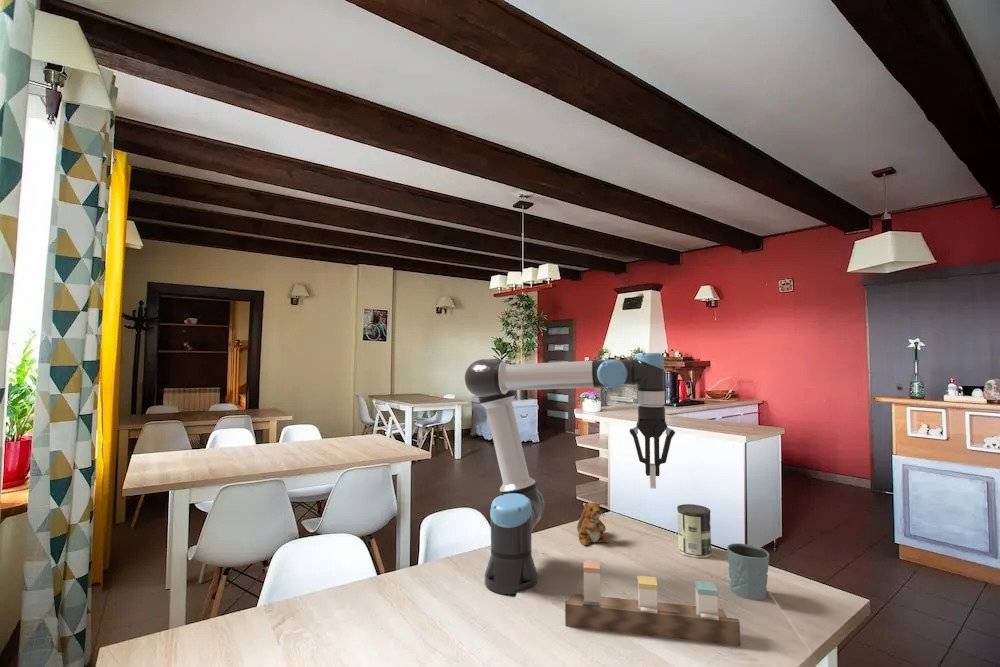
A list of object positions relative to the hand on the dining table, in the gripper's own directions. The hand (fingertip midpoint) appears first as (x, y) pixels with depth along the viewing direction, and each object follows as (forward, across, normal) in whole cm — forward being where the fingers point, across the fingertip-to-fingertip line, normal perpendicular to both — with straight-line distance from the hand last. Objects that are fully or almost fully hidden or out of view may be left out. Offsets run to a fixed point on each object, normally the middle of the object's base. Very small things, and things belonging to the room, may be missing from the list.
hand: (652, 487), depth 140 cm
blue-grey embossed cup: (+27, -24, +4) cm, 36 cm away
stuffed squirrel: (+27, +19, -29) cm, 44 cm away
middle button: (+25, +4, +27) cm, 37 cm away
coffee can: (+27, -15, -24) cm, 39 cm away
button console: (+26, +4, +23) cm, 35 cm away
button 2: (+25, -9, +27) cm, 38 cm away
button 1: (+25, +17, +21) cm, 37 cm away
